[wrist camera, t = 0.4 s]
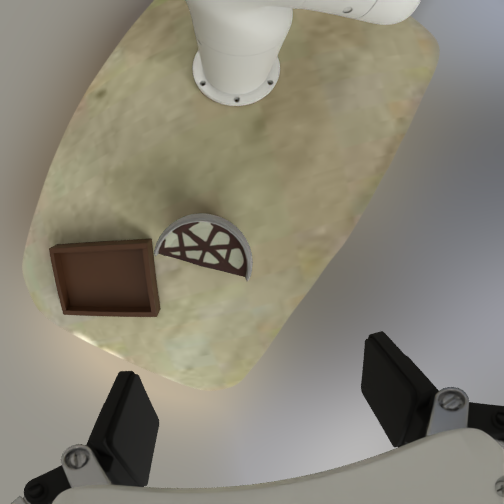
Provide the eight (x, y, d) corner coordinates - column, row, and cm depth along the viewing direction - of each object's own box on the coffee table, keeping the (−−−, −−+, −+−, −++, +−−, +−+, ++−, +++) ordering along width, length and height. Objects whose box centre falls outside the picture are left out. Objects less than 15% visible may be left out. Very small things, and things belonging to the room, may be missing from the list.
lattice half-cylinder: (258, 219, 43) (267, 232, 33) (246, 258, 44) (251, 282, 34) (176, 196, 41) (162, 203, 31) (166, 236, 42) (150, 254, 32)
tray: (57, 244, 41) (48, 248, 38) (151, 238, 42) (147, 243, 39) (70, 307, 44) (63, 314, 41) (160, 308, 45) (157, 316, 42)
